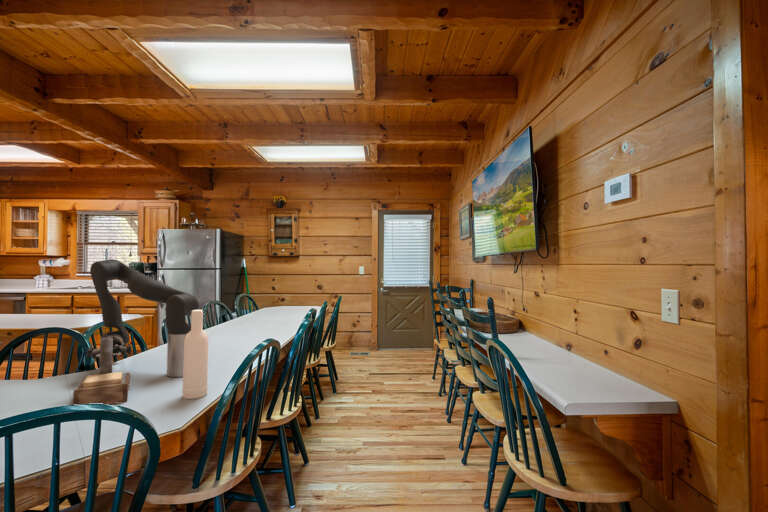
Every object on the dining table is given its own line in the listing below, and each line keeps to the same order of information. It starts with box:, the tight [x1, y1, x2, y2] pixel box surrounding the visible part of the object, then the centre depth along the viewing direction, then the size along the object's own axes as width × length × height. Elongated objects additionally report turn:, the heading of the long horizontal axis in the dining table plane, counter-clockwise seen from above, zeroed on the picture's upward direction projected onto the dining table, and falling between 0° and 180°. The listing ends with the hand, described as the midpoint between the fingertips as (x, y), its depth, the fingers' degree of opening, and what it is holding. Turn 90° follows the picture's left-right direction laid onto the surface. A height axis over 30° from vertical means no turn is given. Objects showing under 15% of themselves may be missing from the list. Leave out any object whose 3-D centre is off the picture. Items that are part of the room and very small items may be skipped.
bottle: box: [181, 309, 210, 400], centre depth 133 cm, size 8×8×30 cm
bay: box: [72, 372, 131, 405], centre depth 131 cm, size 14×20×6 cm
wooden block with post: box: [83, 338, 124, 388], centre depth 130 cm, size 10×13×18 cm
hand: (108, 354), depth 143 cm, fingers open, 8 cm apart
